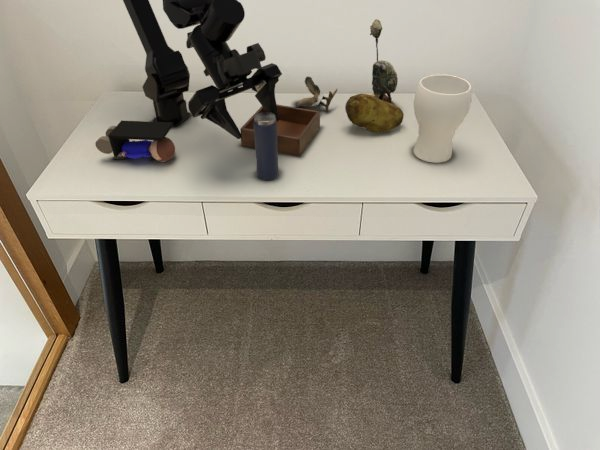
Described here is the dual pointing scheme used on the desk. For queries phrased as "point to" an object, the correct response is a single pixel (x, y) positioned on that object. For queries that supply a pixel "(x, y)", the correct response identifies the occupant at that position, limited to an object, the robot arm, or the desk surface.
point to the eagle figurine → (315, 95)
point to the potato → (373, 113)
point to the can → (266, 145)
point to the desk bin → (287, 129)
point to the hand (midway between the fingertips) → (259, 129)
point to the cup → (439, 114)
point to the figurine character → (133, 149)
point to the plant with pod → (382, 72)
